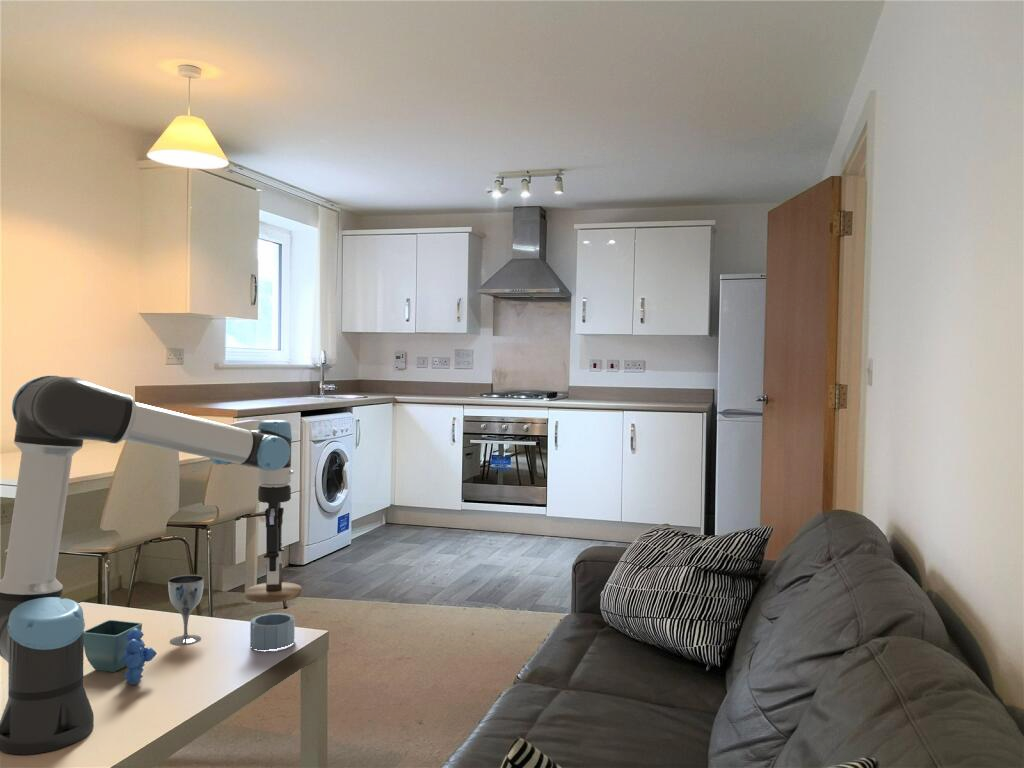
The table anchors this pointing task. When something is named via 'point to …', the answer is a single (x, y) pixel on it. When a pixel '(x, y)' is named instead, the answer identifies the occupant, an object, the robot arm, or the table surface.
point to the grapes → (136, 656)
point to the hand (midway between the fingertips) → (273, 581)
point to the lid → (273, 591)
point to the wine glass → (185, 602)
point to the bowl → (272, 631)
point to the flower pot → (108, 644)
